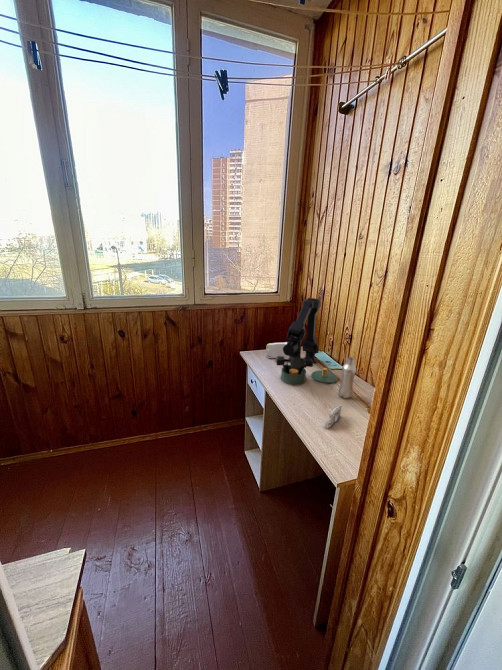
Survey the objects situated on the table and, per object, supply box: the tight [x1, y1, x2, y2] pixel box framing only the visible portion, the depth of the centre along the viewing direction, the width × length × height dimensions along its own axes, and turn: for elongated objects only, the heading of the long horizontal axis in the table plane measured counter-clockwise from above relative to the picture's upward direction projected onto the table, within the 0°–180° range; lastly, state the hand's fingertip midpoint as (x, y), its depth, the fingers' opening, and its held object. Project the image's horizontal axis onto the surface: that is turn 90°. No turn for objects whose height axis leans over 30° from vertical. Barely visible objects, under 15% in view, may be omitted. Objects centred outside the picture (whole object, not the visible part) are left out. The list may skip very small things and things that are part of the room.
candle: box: [289, 369, 298, 375], centre depth 156 cm, size 5×5×4 cm
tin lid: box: [311, 367, 338, 384], centre depth 158 cm, size 14×14×6 cm
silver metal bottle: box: [338, 356, 357, 399], centre depth 139 cm, size 6×7×20 cm
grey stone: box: [325, 404, 342, 430], centre depth 122 cm, size 12×2×6 cm, turn 140°
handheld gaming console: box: [265, 341, 289, 359], centre depth 180 cm, size 11×3×15 cm
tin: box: [280, 364, 307, 386], centre depth 156 cm, size 13×13×5 cm
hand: (293, 375), depth 157 cm, fingers closed on candle, 5 cm apart
